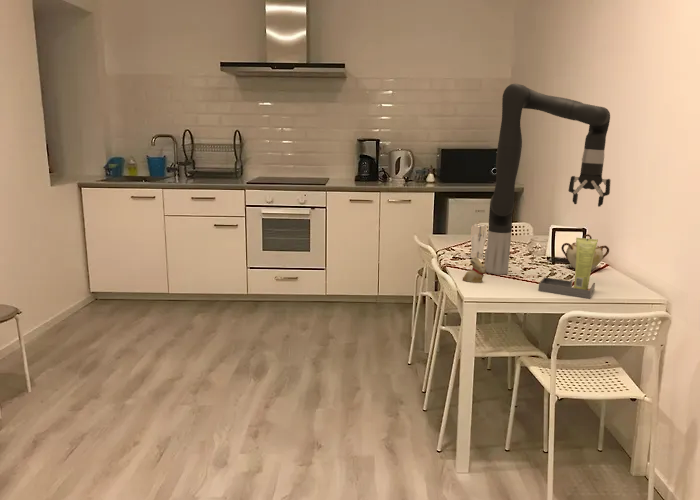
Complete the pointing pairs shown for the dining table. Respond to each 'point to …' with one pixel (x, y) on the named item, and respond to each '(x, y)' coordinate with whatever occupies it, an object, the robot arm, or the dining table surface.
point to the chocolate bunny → (475, 272)
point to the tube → (584, 261)
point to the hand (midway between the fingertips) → (587, 205)
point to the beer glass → (477, 240)
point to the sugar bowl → (571, 254)
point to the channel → (564, 288)
